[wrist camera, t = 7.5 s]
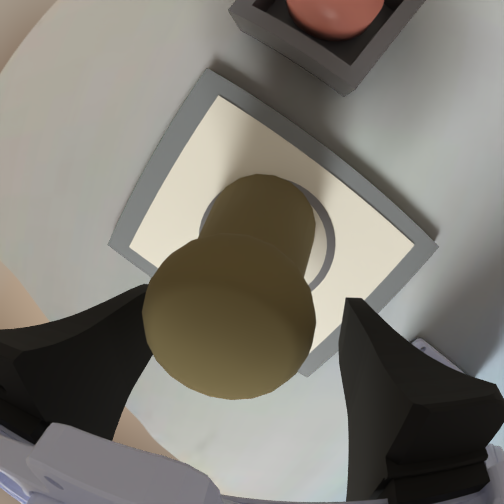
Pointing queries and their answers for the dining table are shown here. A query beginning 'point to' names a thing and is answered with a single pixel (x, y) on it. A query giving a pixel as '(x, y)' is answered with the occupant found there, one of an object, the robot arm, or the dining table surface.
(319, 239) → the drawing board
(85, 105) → the dining table surface
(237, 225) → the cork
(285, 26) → the button base
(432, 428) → the robot arm
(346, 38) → the button
